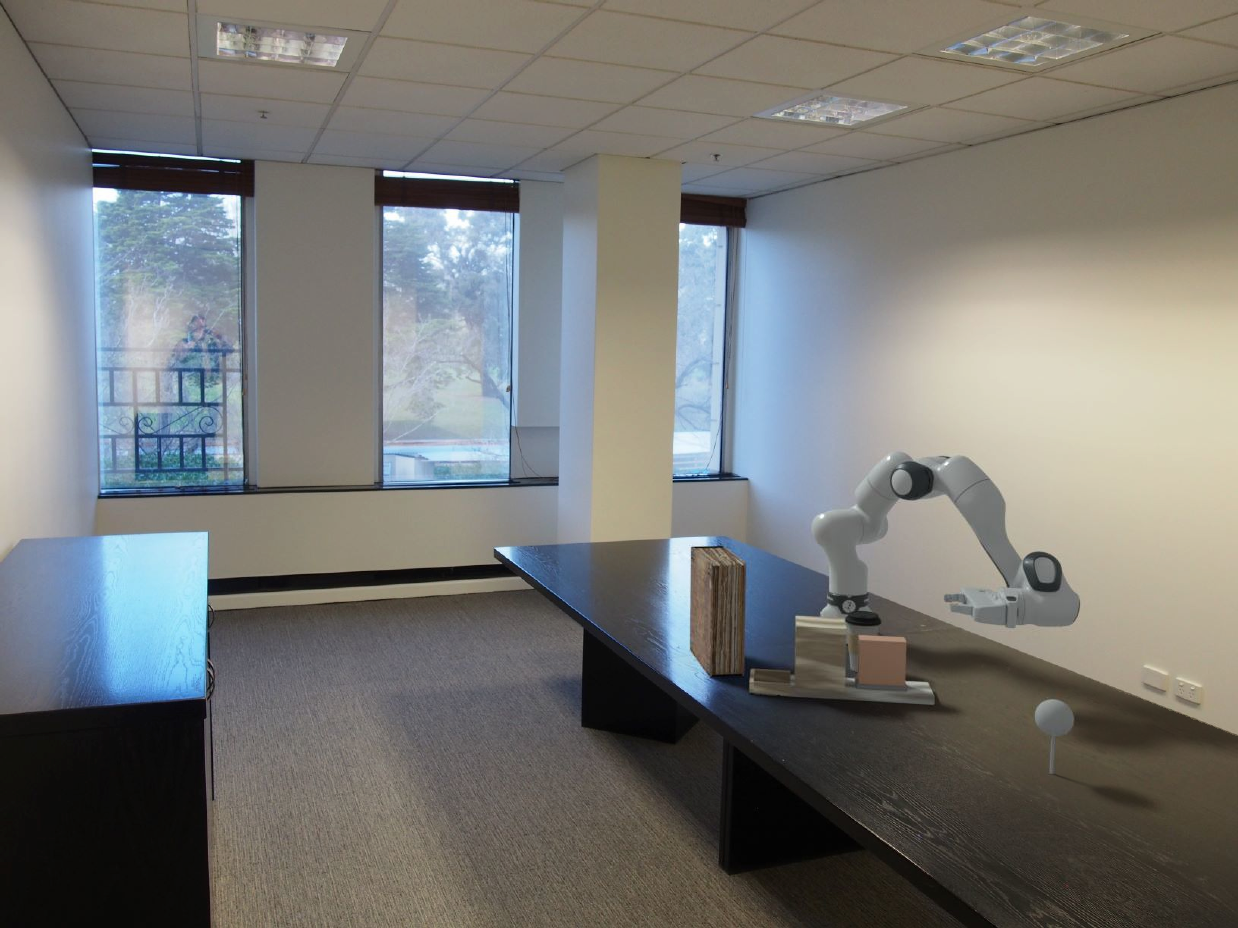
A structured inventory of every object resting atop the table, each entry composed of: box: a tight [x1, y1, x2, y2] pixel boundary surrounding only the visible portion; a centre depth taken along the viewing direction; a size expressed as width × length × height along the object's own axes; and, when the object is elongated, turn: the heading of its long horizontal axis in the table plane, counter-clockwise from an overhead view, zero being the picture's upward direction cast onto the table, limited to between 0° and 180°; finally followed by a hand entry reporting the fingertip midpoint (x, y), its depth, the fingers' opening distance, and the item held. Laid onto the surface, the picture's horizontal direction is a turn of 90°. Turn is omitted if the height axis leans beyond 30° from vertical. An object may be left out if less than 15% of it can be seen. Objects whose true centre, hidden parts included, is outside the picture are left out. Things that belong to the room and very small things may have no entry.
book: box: [689, 545, 747, 678], centre depth 267 cm, size 25×9×30 cm, turn 8°
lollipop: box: [1034, 699, 1075, 775], centre depth 196 cm, size 7×7×15 cm
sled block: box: [854, 635, 907, 691], centre depth 243 cm, size 6×12×12 cm, turn 81°
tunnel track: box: [748, 615, 936, 705], centre depth 244 cm, size 11×44×18 cm, turn 81°
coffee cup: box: [845, 611, 882, 673], centre depth 263 cm, size 9×9×15 cm
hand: (947, 602), depth 239 cm, fingers open, 8 cm apart
